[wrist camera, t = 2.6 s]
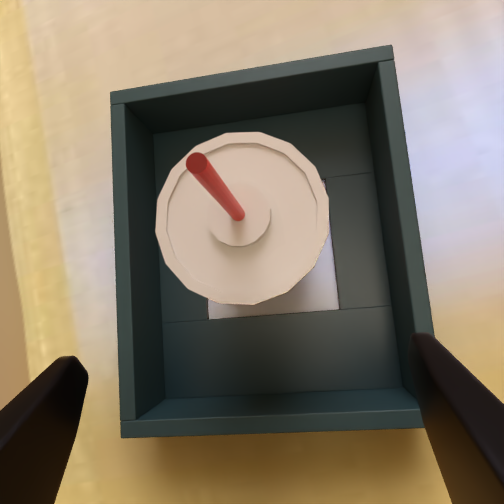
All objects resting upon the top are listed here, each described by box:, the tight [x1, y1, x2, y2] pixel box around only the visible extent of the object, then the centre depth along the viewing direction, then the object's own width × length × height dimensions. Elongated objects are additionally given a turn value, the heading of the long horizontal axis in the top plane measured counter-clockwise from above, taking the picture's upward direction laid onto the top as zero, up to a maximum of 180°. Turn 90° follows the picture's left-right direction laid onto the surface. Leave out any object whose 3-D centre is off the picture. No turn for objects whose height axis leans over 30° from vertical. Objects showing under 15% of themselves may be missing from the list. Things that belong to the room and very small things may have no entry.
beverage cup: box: [155, 132, 329, 305], centre depth 15 cm, size 6×6×14 cm
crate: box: [110, 45, 435, 438], centre depth 19 cm, size 18×15×4 cm
